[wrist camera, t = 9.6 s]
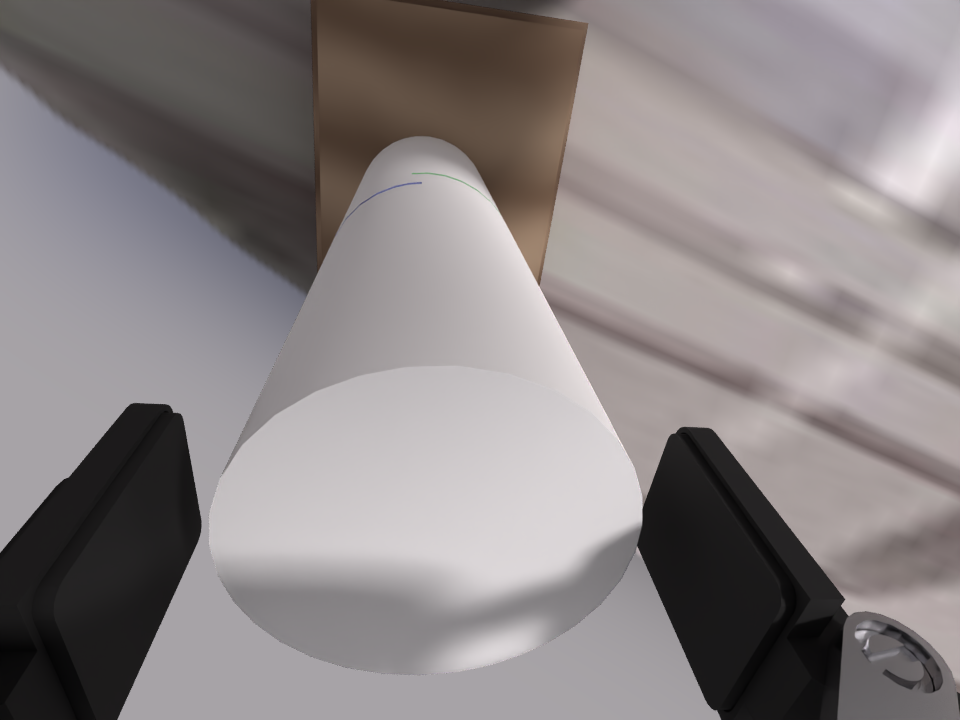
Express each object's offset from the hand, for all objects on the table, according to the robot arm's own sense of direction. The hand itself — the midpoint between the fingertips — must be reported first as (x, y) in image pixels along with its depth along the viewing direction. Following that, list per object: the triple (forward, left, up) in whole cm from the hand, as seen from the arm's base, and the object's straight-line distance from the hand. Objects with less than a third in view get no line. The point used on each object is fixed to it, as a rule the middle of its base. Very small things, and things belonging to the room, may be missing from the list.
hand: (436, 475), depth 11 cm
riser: (-2, +1, -29) cm, 29 cm away
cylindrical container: (0, 0, -23) cm, 23 cm away
